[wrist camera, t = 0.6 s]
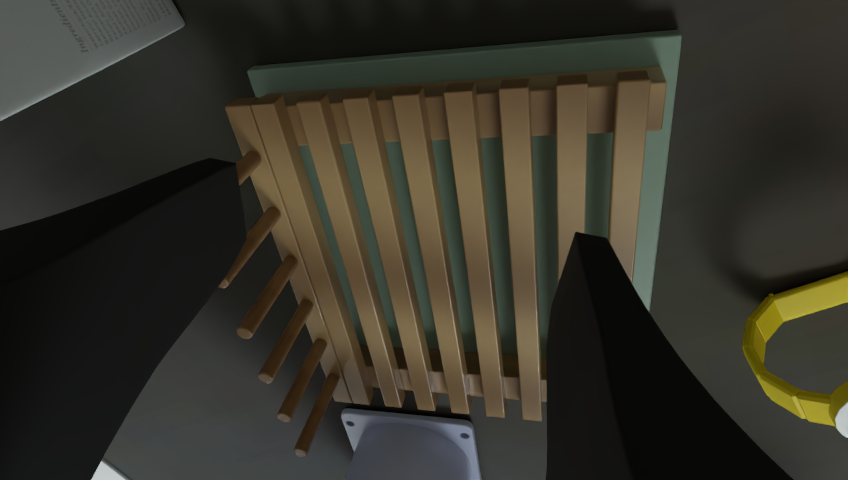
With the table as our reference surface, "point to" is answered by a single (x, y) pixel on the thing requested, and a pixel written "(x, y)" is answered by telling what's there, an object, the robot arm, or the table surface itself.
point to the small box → (71, 42)
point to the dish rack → (448, 207)
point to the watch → (835, 409)
